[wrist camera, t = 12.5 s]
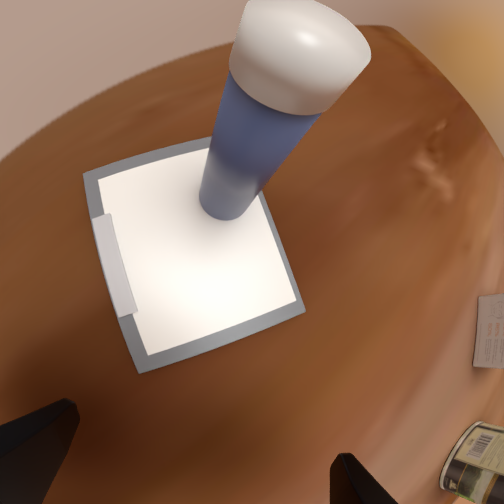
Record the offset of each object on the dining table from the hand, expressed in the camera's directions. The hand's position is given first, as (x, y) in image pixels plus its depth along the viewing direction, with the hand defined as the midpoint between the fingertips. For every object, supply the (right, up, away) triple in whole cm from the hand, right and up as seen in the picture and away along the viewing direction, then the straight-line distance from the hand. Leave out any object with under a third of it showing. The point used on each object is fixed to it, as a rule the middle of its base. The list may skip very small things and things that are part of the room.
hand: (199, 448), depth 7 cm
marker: (0, +10, +10) cm, 14 cm away
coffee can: (+29, -20, +13) cm, 37 cm away
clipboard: (-2, +7, +10) cm, 12 cm away
